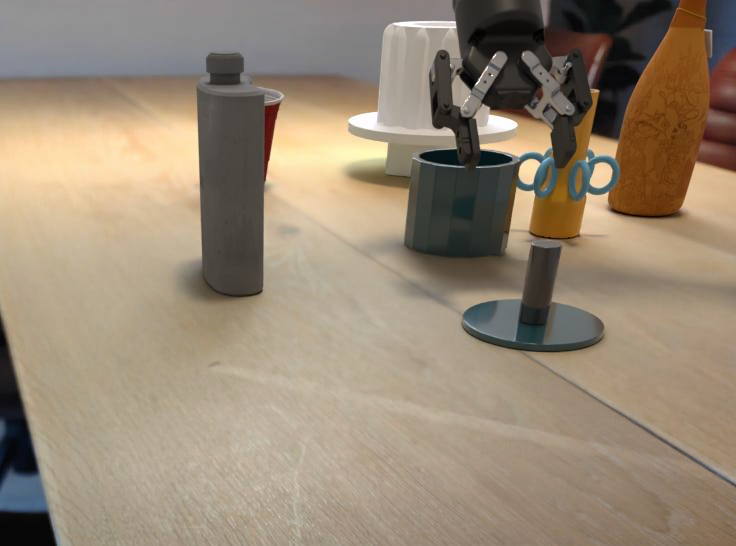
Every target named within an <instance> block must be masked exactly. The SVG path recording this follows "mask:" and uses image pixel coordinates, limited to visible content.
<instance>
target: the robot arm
mask: <svg viewBox="0 0 736 546" xmlns="http://www.w3.org/2000/svg"><path fill="white" fill-rule="evenodd" d="M451 7H452V8H451V9H452V11H453V13H454V19H455V22H456V28H457V35H458V42H459V50H460V57H461V58H450V56H449V53H448V52H447V51H446V50H439V51H438V52H437V54H436V57H435V59H434V62H433V64H432V67H431V70H430V72H429V87H430V101H431V116H432V125H433V127H434V128H436V129H442V128H443V127H446V128H449V129H451V130H452V131H453V133H454V134H455V139H456V147H457V153H458V160H459V162H460V163H461V164H465V170H466V171H474V170H475V168H476V166H477V164H478V163H479V161H480V157H481V151H480V149H481V145H480V143H479V136H478V129H477V122H476V119H474V117H475V116H476V114H477V113H478V111H479V110H480V108H481V107H482V105H483V104H484V105H486V106H488V107H490V111H500V110H503V109H510V110H514V111H515V110H516V111H517V110H519V111H520V110H524V109H525V110H526V111H527V112H528V113H529V114H530V115H531V116H532V117H533V118H534V119H536V120H539V119H540V120H542V121H543V122H544V124H545V125H546V126H547V127H548V128H549V129H550V130H551V132H550V133H549V136H550V142H551V147H552V150H553V156H554V163H555V168H556V169H560V168H565V167H566V165H567V164H568V162H569V161H570V160H571V158H572V157H573V155H574V154H575V152H576V149H577V142H576V137H575V129H574V126H575V127H576V126H579V125H580V123H581V122H582V120H583V118H584V117H585V115H586V113H587V112H588V111H589V110H590V108H591V107H592V105H593V100H592V96H591V91H590V89H591V88H590V83H589V77H588V73H587V69H586V64H585V60H584V56H583V51H582V50H580V49H579V48H576V47H574V48H571V49H570V51H569V52H568V53H567V55H565V56H564V55H563V56H552V54H551V53H550V52H549V51H548V49H547V46H546V42H545V39H546V36H545V35H546V31H545V23H544V16H543V10H542V8H543V7H542V2H541V0H451ZM457 75H459V77H460V79H461V80H462V82H463V83H464V84H465V85H466V86H467V87H468V88H469V89H470V90H471V93H470V94H469V96H468V97H467V99H466V100H465V102H464V104H463V105H462V107H459V106H456V105H453V97H452V83H453V81H454V79H455V76H457ZM540 89H541V91H542V96H541V98H540V99H539V98H538V97H537V94H538V92H539V91H540ZM562 93H563V94H562Z"/></svg>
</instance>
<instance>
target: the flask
mask: <svg viewBox="0 0 736 546" xmlns="http://www.w3.org/2000/svg"><path fill="white" fill-rule="evenodd" d="M205 72H206V73H208V74H209V75H205V76H202V77H200V78H199V80H198V81H197V82H196V85H195V86H196V113H197V115H196V117H197V140H198V141H197V144H198V147H197V148H198V172H199V173H198V174H199V177H198V178H199V179H198V180H199V204H200V206H199V209H200V233H201V234H200V235H201V264H202V265H201V267H202V268H201V269H202V275H203V277H204V279H205V281H206V282H207V283H208V285H209V286H211V288H212V289H214V290H215V291H217V292H218V293H220V294H224V295H225V296H226V295H227V296H235V297H242V296H243V297H244V296H252V295H256V294H259V292H261V291H262V290H263V289H264V266H265V265H264V263H265V262H264V259H265V258H264V252H265V251H264V249H265V248H264V247H265V244H264V243H265V242H264V241H265V238H264V237H265V224H264V223H265V220H264V219H265V185H264V120H265V92H264V91H263V90H262V89H260V88H258V87H259V86H255V85H253V79H252V78H251V77H250V76H248V75H245V74H244V75H243V73H244V72H245V56H243V55H242V53H240V51H236V50H213V51H209V53H208V54H207V55H206V56H205Z"/></svg>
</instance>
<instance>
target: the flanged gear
mask: <svg viewBox="0 0 736 546" xmlns="http://www.w3.org/2000/svg"><path fill="white" fill-rule="evenodd" d="M439 50H446V51H447V52H448V53H449V56H450V58H461V57H460V50H459V42H458V35H457V28H456V21H451V20H449V21H447V20H423V21H422V20H421V21H419V20H418V21H417V20H416V21H415V20H414V21H411V20H409V21H400V22H392V23H389V24H388V25H387V26H386V27H385V29H384V30H383V34H382V44H381V55H380V56H381V58H380V71H379V85H378V86H379V87H378V98H377V111H373V112H365V113H360V114H357V115H353V116H351V117H350V118H349V119H348V125H347V131H348V133H349V134H351V135H352V136H355V137H357V138H361V139H364V140H368V141H369V140H370V141H374V142H381V143H387V150H386V164H385V174H386V175H388V176H394V177H403V176H406V177H405V178H410V172H411V162H412V154H414V153H416V152H419V151H423V150H429V149H437V148H457V147H456V139H455V134H454V133H453V131H452V130H451V129H449V128H446V127H443V128H442V129H436V128H434V127H433V125H432V116H431V101H430V87H429V72H430V70H431V67H432V64H433V62H434V59H435V57H436V54H437V52H438V51H439ZM470 93H471V90H470V89H469V88H468V87H467V86H466V85H465V84H464V83H463V82H462V80H461V79H460V77H459V75H457V76H455V79H454V81H453V83H452V97H453V105H456V106H459V107H462V105H463V104H464V102H465V100H466V99H467V97H468V96H469V94H470ZM490 111H491V110H490V107H488V106H486V105H484V104H483V105H482V107H481V108H480V110H479V111H478V113H477V114H476V116H475V117H474V119H476V122H477V129H478V136H479V143H480V146H481V145H490V144H496V143H501V142H506V141H509V140H512V139H514V138H515V137H516V136H517V132H518V126H519V125H518V123H517V122H516V121H515V120H513V119H509V118H507V117H503V116H498V115H493V114H490Z"/></svg>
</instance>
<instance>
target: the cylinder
mask: <svg viewBox="0 0 736 546" xmlns="http://www.w3.org/2000/svg"><path fill="white" fill-rule="evenodd" d="M590 91H591V96H592V100H593V105H592V107H591V108H590V110H589V111H588V112H587V113H586V115H585V117H584V118H583V120H582V122H581V123H580V125H579V126H576V127H575V126H574V129H575V137H576V142H577V149H576V152H575V154H574V155H573V157H572V158H571V160H570V161H569V162H568V164H567V165H566V167H565V168H560V169H556V168H555V163H554V156H553V150H552V146H551V147H549V148H548V149H546V151H545V152H544V154H542V153H540V152H538V151H528V152H525V153H523V154H521V155H520V156H518V157H519V159H520V161H521V162H520V167H521V166H522V164H524V163H525V162H526V161H528V160H535V161H537V162H538V163H539V166H538V167H537V169H536V172H535V174H534V178H533V183H525V182H523V181H522V180H521V178H520V176H519V175H518V181H517V187H516V189H518V190H520V191H523V192H533V193H534V199H533V205H532V210H531V215H530V222H529V227H528V228H529V232H530V233H531V232H532V233H531V234H533V233H534V234H533V235H535V234H536V235H535V236H538V235H539V237H542V236H544V237H543V238H548V237H551V238H550V239H569V238H568V237H570V238H574V237H576V236H578V235H580V233H581V228H582V223H583V218H584V213H585V209H586V204H587V194H590V195H593V196H602V195H605V194H607V193H609V191H610V190H611V189H612V188H613V187H614V186H615V185H616V183H617V181H618V179H619V175H620V168H619V165H618V163H617V161H616V160H615V157H613V156H611V155H608V154H599V155H596V154H595V152H594V151H593V150H592V149H589V146H590V141H591V134H592V129H593V124H594V119H595V116H596V110H597V106H598V101H599V95H600V90H599V89H596V88H590ZM561 93H562V92H561ZM562 94H563V93H562ZM587 159H588V161H587ZM600 163H604V164H607V165H609V166H610V168H611V170H612V171H613V175H612V174H611V177H612V179H611V178H610V180H609V182H608V183H607V184H605V185H604V186H602V187H595V186H593V185H592V184H591V179H592V176H593V174H594V171H595V168H596V165H598V164H600ZM612 171H611V172H612Z"/></svg>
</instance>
